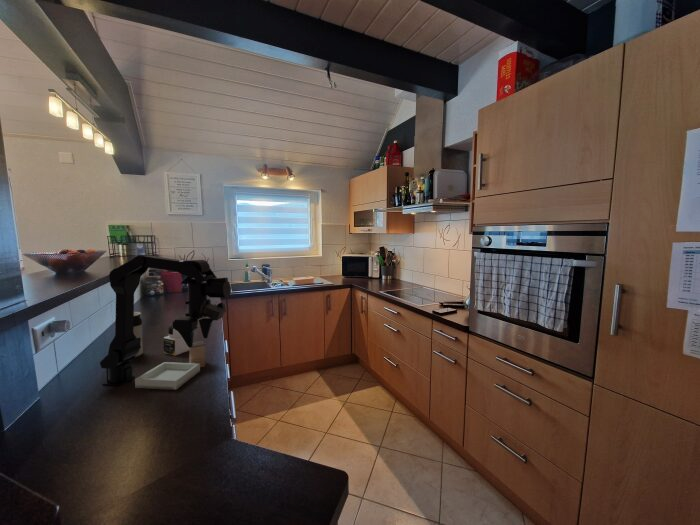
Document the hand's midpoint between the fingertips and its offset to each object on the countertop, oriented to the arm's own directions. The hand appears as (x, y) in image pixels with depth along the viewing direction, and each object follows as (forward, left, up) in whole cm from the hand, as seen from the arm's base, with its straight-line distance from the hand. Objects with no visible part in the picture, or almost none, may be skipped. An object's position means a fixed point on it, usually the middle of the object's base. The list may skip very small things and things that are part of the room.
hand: (198, 342), depth 98 cm
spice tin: (-9, +15, -15) cm, 23 cm away
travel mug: (-42, +22, -15) cm, 50 cm away
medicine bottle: (-26, +28, -15) cm, 41 cm away
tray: (-12, +3, -15) cm, 19 cm away
